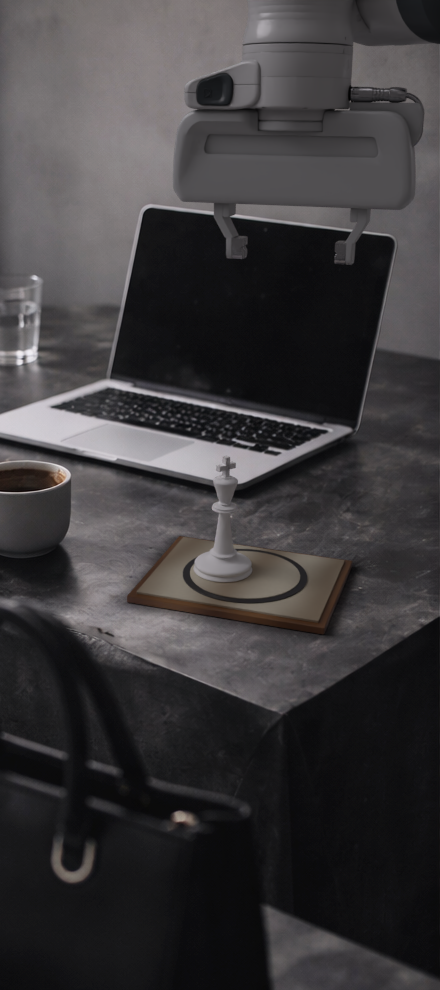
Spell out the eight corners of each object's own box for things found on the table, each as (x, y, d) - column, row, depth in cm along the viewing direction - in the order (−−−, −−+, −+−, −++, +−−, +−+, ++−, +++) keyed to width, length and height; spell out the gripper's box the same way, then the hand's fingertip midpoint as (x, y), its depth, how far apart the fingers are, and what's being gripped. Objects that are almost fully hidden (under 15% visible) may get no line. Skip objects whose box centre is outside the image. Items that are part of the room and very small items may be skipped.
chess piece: (181, 567, 82) (183, 454, 79) (226, 553, 85) (229, 443, 82) (219, 588, 79) (222, 470, 75) (264, 572, 82) (269, 459, 78)
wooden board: (352, 566, 86) (353, 556, 85) (324, 635, 74) (324, 623, 74) (179, 541, 90) (179, 531, 89) (126, 602, 78) (126, 591, 78)
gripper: (430, 88, 79) (415, 262, 84) (189, 86, 84) (189, 250, 89) (423, 86, 73) (407, 272, 79) (165, 84, 79) (166, 259, 84)
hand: (289, 260), depth 84 cm, fingers open, 8 cm apart
